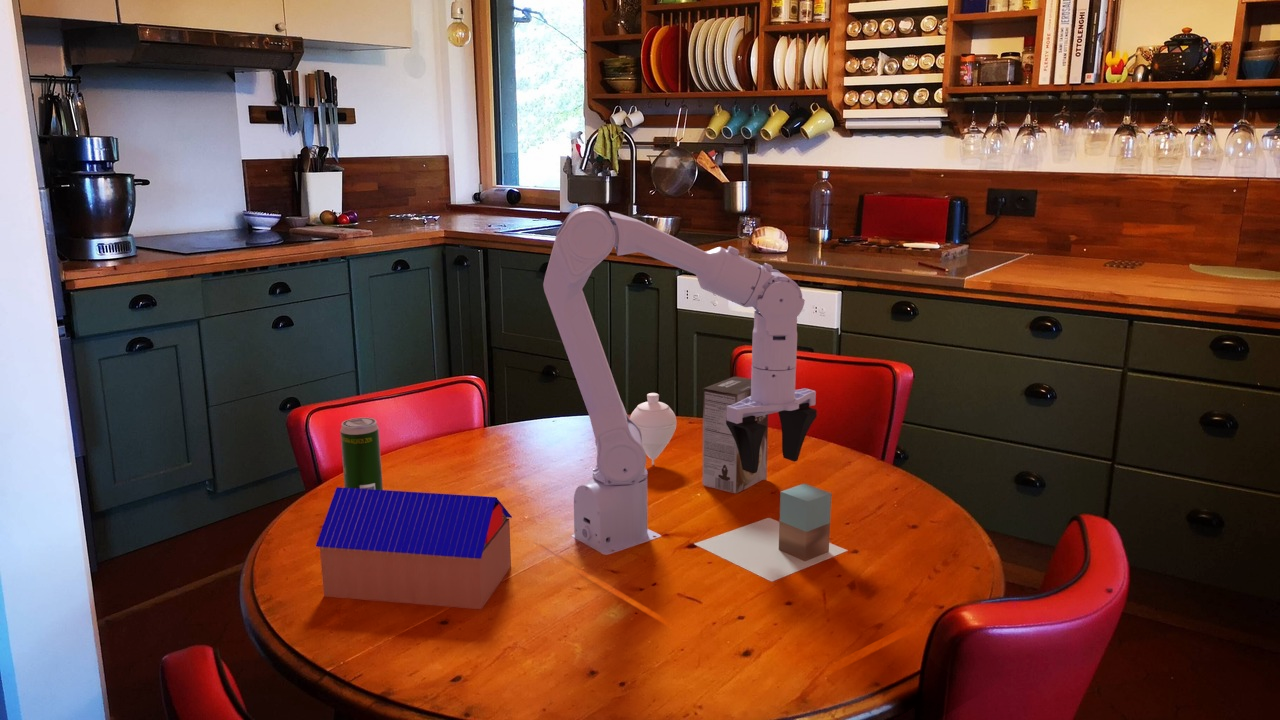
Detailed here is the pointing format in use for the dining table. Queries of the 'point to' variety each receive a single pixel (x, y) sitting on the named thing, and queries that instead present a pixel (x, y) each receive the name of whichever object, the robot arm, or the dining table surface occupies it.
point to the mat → (761, 550)
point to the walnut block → (804, 541)
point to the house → (414, 547)
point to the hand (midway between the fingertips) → (770, 465)
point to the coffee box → (727, 438)
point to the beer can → (361, 454)
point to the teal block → (805, 507)
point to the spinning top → (654, 425)
